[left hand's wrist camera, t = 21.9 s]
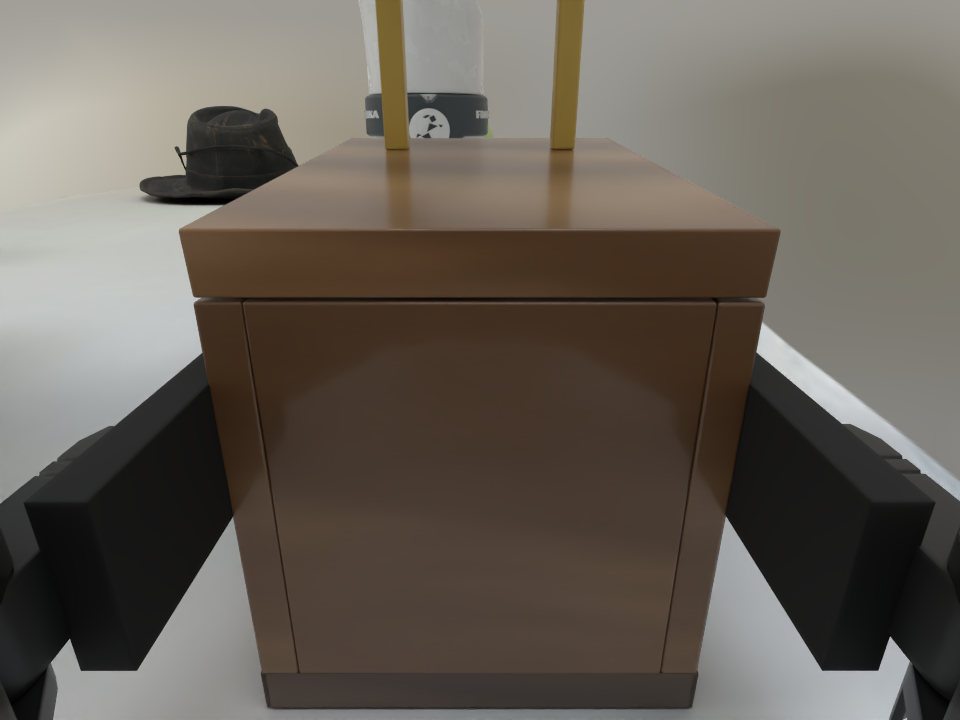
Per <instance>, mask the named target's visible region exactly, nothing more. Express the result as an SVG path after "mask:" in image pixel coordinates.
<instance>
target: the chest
mask: <svg viewBox="0 0 960 720" xmlns="http://www.w3.org/2000/svg"><path fill="white" fill-rule="evenodd" d="M764 308H765V305H764V302H762V301H760V300H759V299H757V298H201V299H199V300H197V301H196V302H194V309H195V314H196V320H197V325H198V331H199V336H200V341H201V347H202V352H203V357H204V363H205V368H206V374H207V379H208V384H209V387H210V393H211V398H212V404H213V409H214V414H215V420H216V425H217V430H218V436H219V441H220V446H221V452H222V457H223V463H224V468H225V473H226V479H227V484H228V489H229V495H230V500H231V506H232V511H233V519H234V524H235V529H236V535H237V540H238V545H239V551H240V556H241V562H242V567H243V572H244V578H245V583H246V588H247V594H248V599H249V604H250V610H251V615H252V621H253V626H254V631H255V637H256V642H257V647H258V653H259V658H260V664H261V669H262V672H261V677H262V682H263V687H264V693H265V698H266V703H267V707H537V708H692V704H693V699H694V694H695V689H696V683H697V678H698V671H697V667H698V662H699V657H700V651H701V646H702V641H703V635H704V630H705V625H706V619H707V614H708V608H709V603H710V598H711V592H712V587H713V582H714V576H715V571H716V565H717V560H718V555H719V549H720V544H721V539H722V533H723V528H724V523H725V517H726V511H727V506H728V500H729V495H730V490H731V484H732V479H733V474H734V468H735V463H736V457H737V452H738V447H739V441H740V436H741V430H742V425H743V420H744V414H745V409H746V404H747V398H748V393H749V387H750V383H751V378H752V372H753V367H754V361H755V356H756V351H757V345H758V340H759V335H760V329H761V324H762V319H763V313H764Z"/></svg>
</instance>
